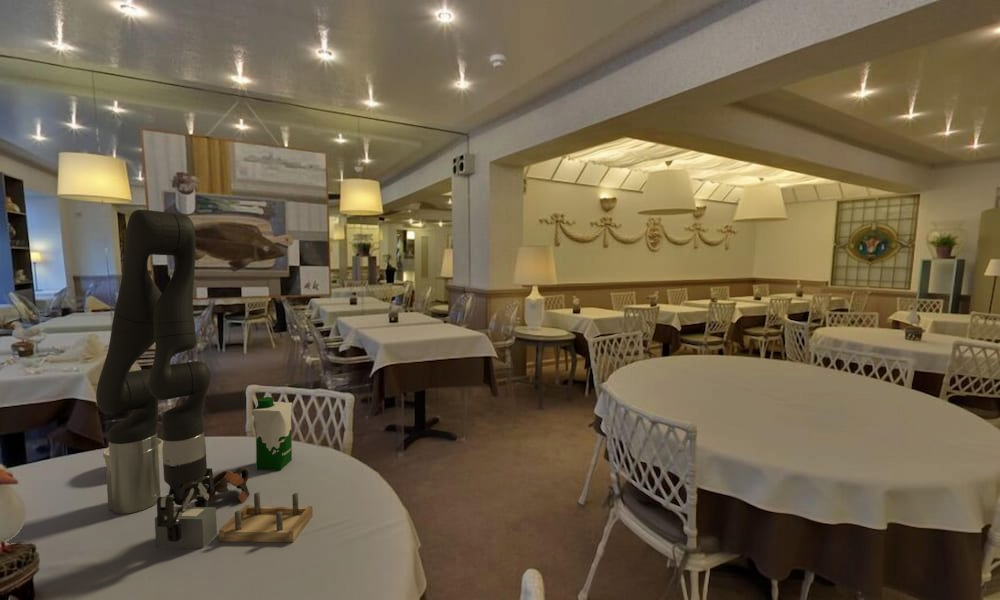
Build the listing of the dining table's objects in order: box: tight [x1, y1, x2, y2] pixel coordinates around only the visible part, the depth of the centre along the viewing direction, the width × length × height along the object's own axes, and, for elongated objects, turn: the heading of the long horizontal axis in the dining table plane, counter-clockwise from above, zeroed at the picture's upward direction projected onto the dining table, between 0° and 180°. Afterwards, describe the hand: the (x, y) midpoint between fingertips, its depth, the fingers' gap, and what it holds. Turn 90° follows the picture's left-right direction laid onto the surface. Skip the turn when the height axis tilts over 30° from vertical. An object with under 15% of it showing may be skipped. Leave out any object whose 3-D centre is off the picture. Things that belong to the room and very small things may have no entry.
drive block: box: [154, 506, 218, 549], centre depth 97 cm, size 10×4×7 cm, turn 90°
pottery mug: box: [205, 466, 250, 504], centre depth 114 cm, size 12×10×8 cm
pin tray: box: [218, 491, 313, 543], centre depth 102 cm, size 16×10×6 cm, turn 90°
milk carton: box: [252, 396, 293, 471], centre depth 132 cm, size 9×9×20 cm
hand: (189, 528), depth 97 cm, fingers open, 8 cm apart
